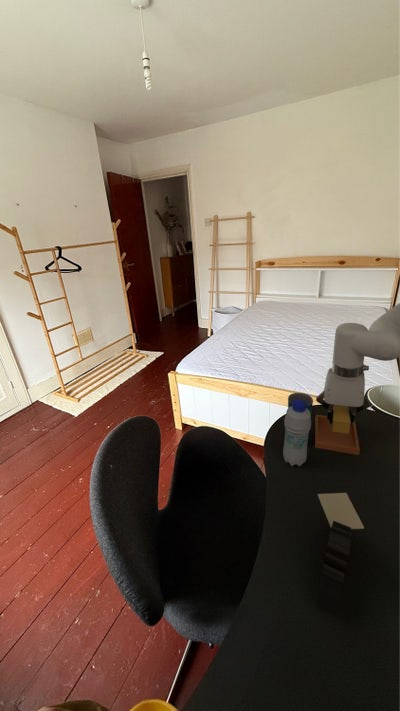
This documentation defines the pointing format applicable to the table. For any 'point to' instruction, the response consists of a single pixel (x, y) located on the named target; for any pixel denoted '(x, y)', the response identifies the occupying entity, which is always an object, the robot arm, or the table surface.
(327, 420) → the brown wooden tray
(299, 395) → the cup
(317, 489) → the table surface
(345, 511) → the cloth
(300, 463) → the bottle
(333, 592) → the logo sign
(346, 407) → the yellow block
